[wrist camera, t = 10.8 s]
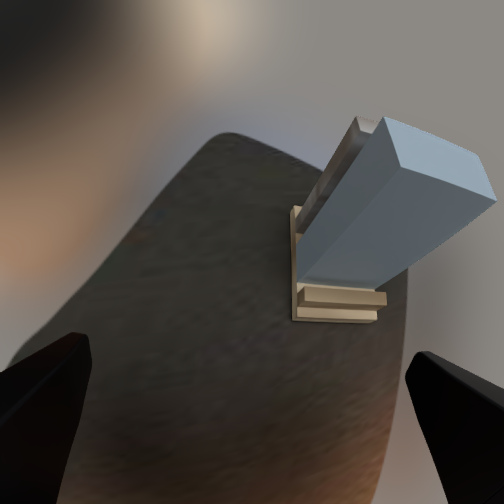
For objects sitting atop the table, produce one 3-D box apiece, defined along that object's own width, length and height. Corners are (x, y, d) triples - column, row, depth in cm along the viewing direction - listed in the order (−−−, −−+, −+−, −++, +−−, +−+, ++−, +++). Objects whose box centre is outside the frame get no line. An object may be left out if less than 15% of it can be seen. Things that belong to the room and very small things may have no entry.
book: (374, 289, 23) (496, 201, 12) (296, 282, 22) (400, 166, 11) (370, 254, 25) (477, 155, 13) (295, 244, 24) (383, 116, 12)
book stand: (369, 323, 23) (484, 263, 12) (292, 320, 22) (386, 247, 11) (358, 224, 27) (438, 132, 16) (290, 213, 26) (351, 101, 15)
